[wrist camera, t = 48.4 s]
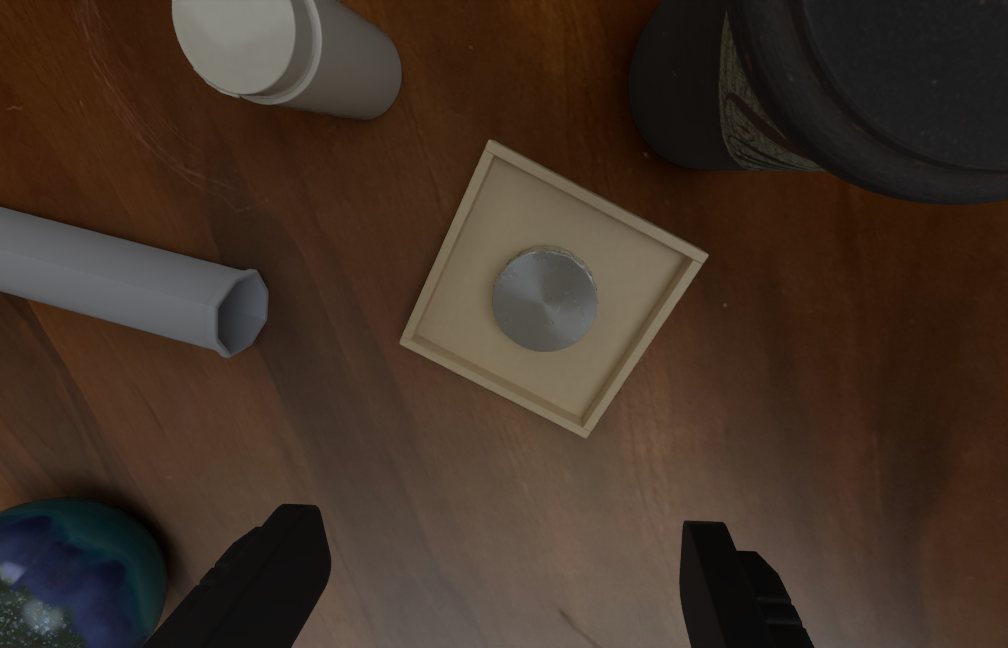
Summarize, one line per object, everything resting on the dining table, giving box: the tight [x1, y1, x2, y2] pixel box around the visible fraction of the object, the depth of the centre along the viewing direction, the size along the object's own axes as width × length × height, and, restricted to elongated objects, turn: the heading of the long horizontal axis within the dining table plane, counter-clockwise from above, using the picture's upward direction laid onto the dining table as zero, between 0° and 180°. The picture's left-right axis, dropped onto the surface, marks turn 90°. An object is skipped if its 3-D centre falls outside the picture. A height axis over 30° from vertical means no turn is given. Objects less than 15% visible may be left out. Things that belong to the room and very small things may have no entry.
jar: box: [172, 0, 402, 120], centre depth 22 cm, size 5×5×10 cm
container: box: [628, 0, 1008, 205], centre depth 15 cm, size 9×9×20 cm
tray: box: [399, 140, 709, 438], centre depth 29 cm, size 13×13×2 cm
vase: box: [0, 497, 168, 648], centre depth 35 cm, size 15×15×13 cm
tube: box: [0, 207, 269, 358], centre depth 30 cm, size 5×5×25 cm
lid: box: [492, 244, 598, 352], centre depth 28 cm, size 6×6×2 cm
